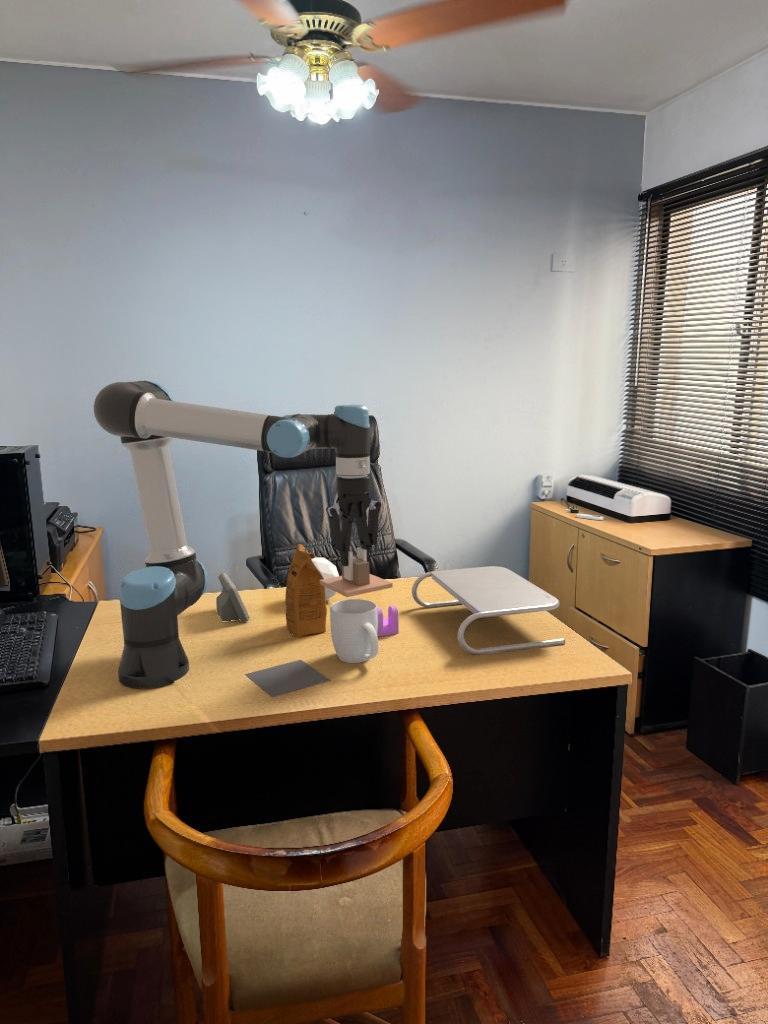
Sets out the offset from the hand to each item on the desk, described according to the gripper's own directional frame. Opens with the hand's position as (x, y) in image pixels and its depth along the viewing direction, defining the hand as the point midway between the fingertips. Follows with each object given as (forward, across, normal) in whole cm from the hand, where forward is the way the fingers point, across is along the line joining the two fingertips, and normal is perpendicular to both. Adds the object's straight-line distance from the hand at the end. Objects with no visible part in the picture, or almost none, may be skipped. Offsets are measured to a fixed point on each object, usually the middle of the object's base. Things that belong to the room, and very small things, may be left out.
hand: (355, 577), depth 164 cm
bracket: (+20, +17, +16) cm, 31 cm away
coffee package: (+20, 0, +25) cm, 32 cm away
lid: (+2, 0, 0) cm, 2 cm away
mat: (+20, -18, 0) cm, 27 cm away
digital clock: (+20, -11, +47) cm, 52 cm away
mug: (+20, 0, 0) cm, 20 cm away
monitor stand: (+21, +40, +1) cm, 45 cm away
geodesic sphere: (+20, +14, +44) cm, 51 cm away
